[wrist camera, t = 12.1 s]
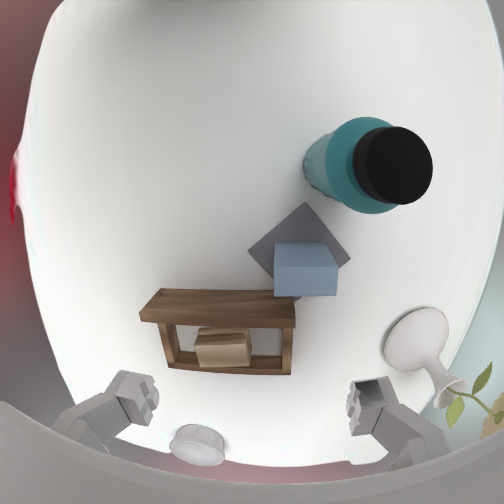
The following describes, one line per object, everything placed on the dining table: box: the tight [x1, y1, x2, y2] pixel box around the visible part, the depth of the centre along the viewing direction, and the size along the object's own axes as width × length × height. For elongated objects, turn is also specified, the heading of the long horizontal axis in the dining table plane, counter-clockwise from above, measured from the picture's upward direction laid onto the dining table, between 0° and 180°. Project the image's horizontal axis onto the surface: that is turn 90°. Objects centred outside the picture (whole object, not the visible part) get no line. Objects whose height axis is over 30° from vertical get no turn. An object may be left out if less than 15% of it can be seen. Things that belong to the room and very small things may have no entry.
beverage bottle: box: [303, 117, 433, 214], centre depth 20 cm, size 6×7×20 cm
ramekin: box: [169, 425, 225, 466], centre depth 45 cm, size 11×11×5 cm
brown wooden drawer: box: [139, 288, 296, 375], centre depth 34 cm, size 12×18×7 cm, turn 92°
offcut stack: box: [194, 327, 252, 367], centre depth 36 cm, size 4×7×4 cm, turn 99°
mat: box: [248, 203, 350, 302], centre depth 33 cm, size 9×9×1 cm
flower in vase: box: [384, 308, 504, 440], centre depth 24 cm, size 13×11×25 cm
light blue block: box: [274, 243, 338, 296], centre depth 29 cm, size 3×6×8 cm, turn 92°
